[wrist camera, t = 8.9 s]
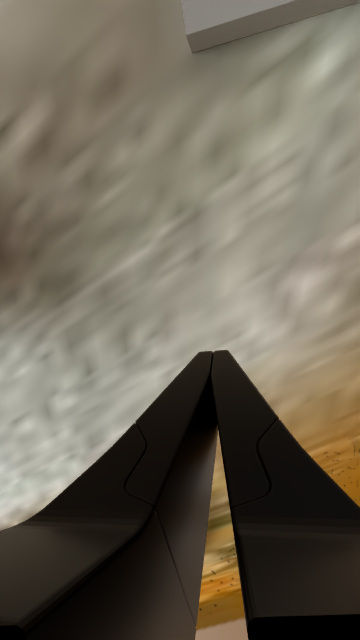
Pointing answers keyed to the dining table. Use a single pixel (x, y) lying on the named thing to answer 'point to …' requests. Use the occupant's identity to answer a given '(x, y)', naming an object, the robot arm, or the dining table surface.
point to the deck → (245, 17)
